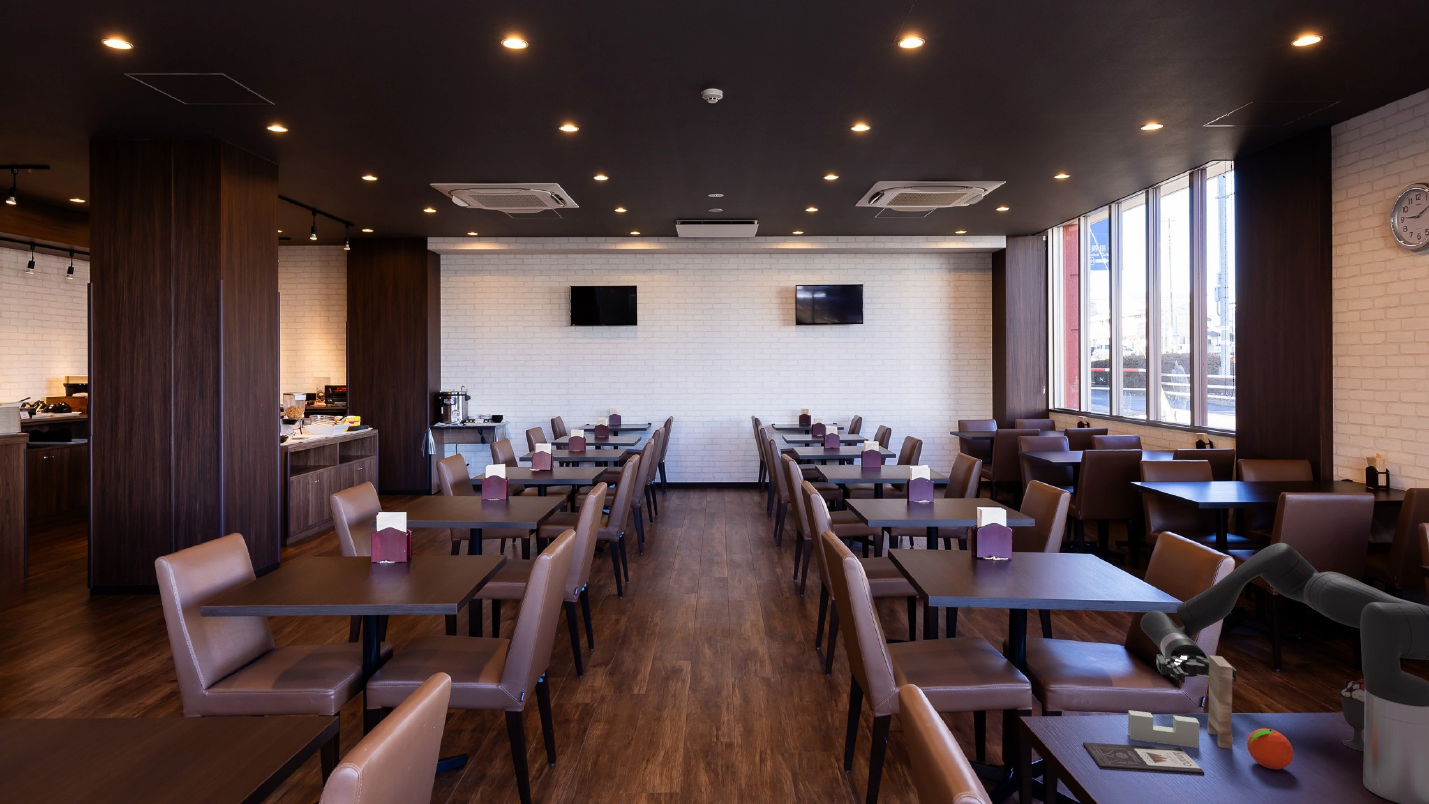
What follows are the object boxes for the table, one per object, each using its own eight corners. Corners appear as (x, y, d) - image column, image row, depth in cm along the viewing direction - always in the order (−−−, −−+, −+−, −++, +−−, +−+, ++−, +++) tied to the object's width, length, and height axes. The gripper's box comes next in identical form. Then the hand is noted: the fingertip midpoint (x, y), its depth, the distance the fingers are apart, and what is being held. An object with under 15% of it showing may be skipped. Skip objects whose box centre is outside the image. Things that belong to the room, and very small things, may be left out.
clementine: (1266, 779, 133) (1267, 740, 133) (1232, 760, 140) (1233, 723, 140) (1303, 774, 135) (1303, 736, 135) (1267, 755, 142) (1268, 719, 141)
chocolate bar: (1083, 742, 146) (1180, 748, 144) (1083, 747, 146) (1180, 752, 144) (1100, 765, 137) (1204, 772, 135) (1100, 770, 137) (1204, 777, 135)
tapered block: (1219, 732, 151) (1220, 655, 151) (1232, 748, 144) (1233, 668, 144) (1207, 731, 152) (1208, 654, 151) (1219, 747, 145) (1220, 667, 145)
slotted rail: (1195, 742, 147) (1195, 718, 147) (1199, 748, 145) (1199, 723, 144) (1128, 734, 150) (1128, 710, 150) (1130, 739, 148) (1130, 714, 148)
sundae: (1377, 758, 140) (1379, 680, 140) (1332, 745, 145) (1333, 670, 145) (1383, 747, 145) (1384, 671, 144) (1339, 734, 150) (1340, 662, 149)
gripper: (1218, 673, 168) (1245, 702, 153) (1147, 666, 172) (1167, 694, 157) (1218, 640, 168) (1245, 666, 152) (1148, 634, 172) (1167, 659, 157)
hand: (1205, 680), depth 155 cm, fingers open, 8 cm apart
